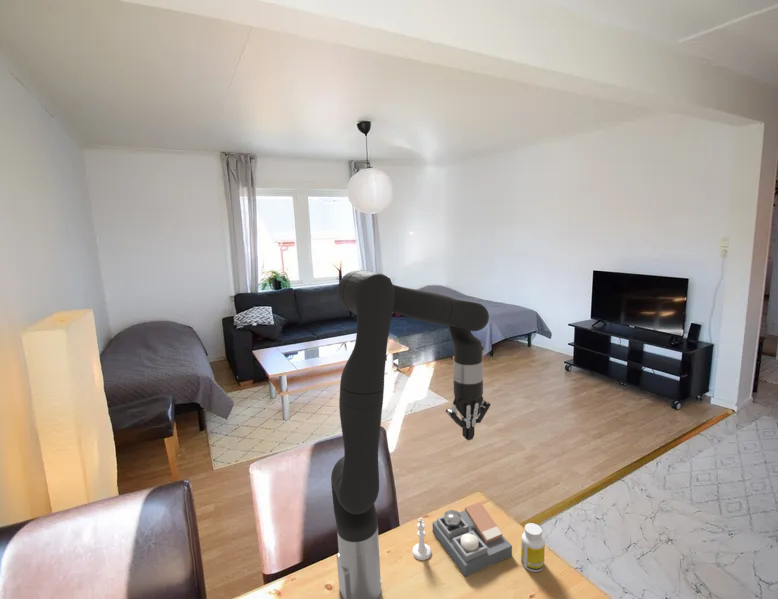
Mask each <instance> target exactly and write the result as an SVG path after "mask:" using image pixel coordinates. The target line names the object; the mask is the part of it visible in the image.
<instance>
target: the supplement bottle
mask: <svg viewBox="0 0 778 599" xmlns="http://www.w3.org/2000/svg"><path fill="white" fill-rule="evenodd" d="M520 545H521V546H520V558H521V559H520V563H521V564H522V566H523V567H524V569H526V570H528V572H529V571H530V572H533V573H538V572H541V571H542V570H543V569H544V567H545V552H546V551H545V548H546V547H545V546H546V544H545V538H544V536H543V529H542V527H541V526H540V525H538V524H536V523H533V522H529V523H526V524H525V525H524V532H523V533H522V534H521V543H520Z"/></svg>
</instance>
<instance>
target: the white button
mask: <svg viewBox="0 0 778 599" xmlns="http://www.w3.org/2000/svg"><path fill="white" fill-rule="evenodd" d="M461 547H462V548H463V549H464V551H465V552H466V553H470V552H472V551H474V550H477V549H479V541H478V538H477V537H476V536H475V535H473V534H464V535H463V536H462V537H461Z"/></svg>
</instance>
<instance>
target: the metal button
mask: <svg viewBox="0 0 778 599" xmlns="http://www.w3.org/2000/svg"><path fill="white" fill-rule="evenodd" d="M443 516H444V523H445V525H446V526H447V527H449V528H457V527H459V526H460V525H461V515H460V513H459V511H458V510H455V509H448V510H447V511H445V512H444V514H443Z"/></svg>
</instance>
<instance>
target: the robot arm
mask: <svg viewBox="0 0 778 599" xmlns="http://www.w3.org/2000/svg"><path fill="white" fill-rule="evenodd" d="M336 292H337V297H338V300H339V302H340V304H341V305H342V306H343V307H344V308H345V309H346V310H347V311H350V312H351V313H353V314H356V336H355V343H354V346H353V349H352V351H351V354H350V356H349V357H348V360H347V361H346V364H345V365H344V367H343V370H342V373H341V376H340V383H339V403H338V404H339V405H338V406H339V409H338V410H339V418H340V425H341V426H340V427H341V434H342V440H343V449H344V454H343V455H344V456H342V457H341V458H339V459H338V460H337V461H336V463H335V464H334V466H333V468H332V471H331V474H330V475H331V476H330V478H331V480H330V481H331V483H330V486H331V494H332V496H331V497H332V504H333V512H334V513H333V514H334V518H335V524H336V533H337V546H338V553H337V554H336V562H337V563H336V564H337V577H338V588H339V592H340V595H341V598H342V599H380V597H381V593H382V579H381V577H382V576H381V561H380V558H381V557H380V544H379V541H380V540H379V522H378V521H379V520H378V514H377V510H376V505H375V502H376V500H377V498H378V496H379V493H380V475H379V474H380V471H379V469H380V467H379V444H380V436H381V424H382V414H383V404H384V395H385V394H384V392H385V391H384V389H385V372H386V361H387V350H388V341H389V335H390V330H391V329H390V328H391V324H392V318H393V314H396V315H400V316H404V317H408V318H411V319H414V320H417V321H422V322H426V323H430V324H435V325H442V326H448V329H449V332H450V336H451V340H452V343H453V355H454V356H453V359H454V360H453V367H452V368H453V372H452V374H453V375H452V376H453V396H454V399H453V402H452V404H453V405H452V406H451V407H450V408H447V409H445V413H446V414H447V415H448V416H449V417H450V418H451V419H452V421H453V422H454V423H455V424H457V425H458V426H459V427H461V429H462V436H463V438H464V439H465V440H466V441H471V440H473V439H474V438H475V426H476V425H477V424H480V423H481V422H482V420H483V419H484V417H485V415H486V414H487V412H488V410H489V409H490V406H491V403H490V402H488V401H487V400H485V399H484V397H483V394H484V367H483V346H482V341H481V340H480V339H479V338H477V337H476V336H474V335H473V333H472V332H478V331H481V330H483V329H484V328H485V327H487V325H488V323H489V320H490V316H489V314H490V313H489V312H488V309H487V308H486V307H485V306H484V305H483V304H481V303H480V302H479V303H478V302H474V301H468V300H463V299H462V300H461V299H458V298H457V299H456V298H453V297H450V296H448V295H445V294H440V293H436V292H431V291H428V290H427V291H425V290H421V289H417V288H415V289H414V288H410V287H403V286H399V285H395V284H393V282H392V281H391V279H390V278H389V277H388V276H387V275H385V274H383V273H380V272H376V271H370V270H365V269H355V270H352V271H350V272H348V273H345V274H344V276H342V278H340V281H339V282H338V285H337V290H336ZM458 413H459V416H460V417H459V416H458Z"/></svg>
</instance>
